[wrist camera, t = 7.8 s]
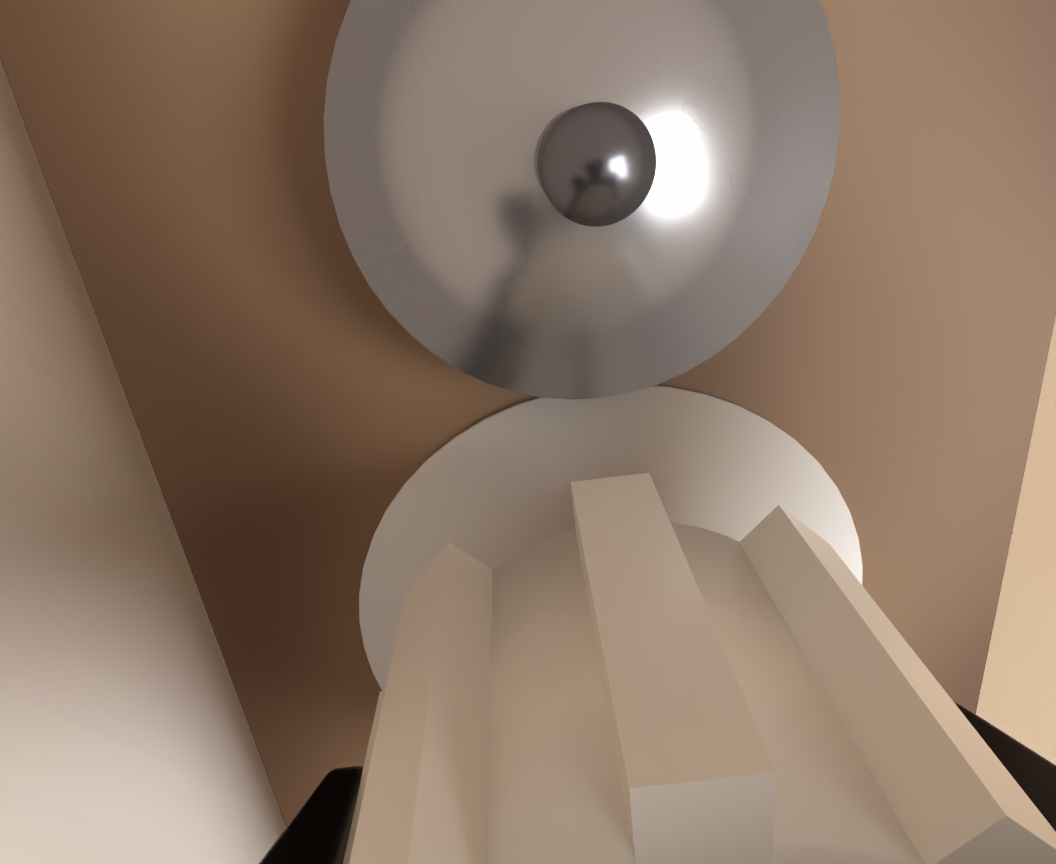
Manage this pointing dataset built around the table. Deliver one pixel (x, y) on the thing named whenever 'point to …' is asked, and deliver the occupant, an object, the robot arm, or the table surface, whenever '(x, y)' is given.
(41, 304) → the table surface
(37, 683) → the table surface
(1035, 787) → the robot arm
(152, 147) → the gear board
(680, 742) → the loose gear
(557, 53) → the gear peg base
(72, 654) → the table surface
